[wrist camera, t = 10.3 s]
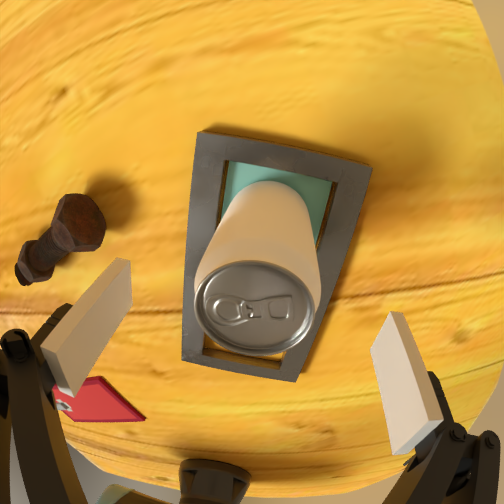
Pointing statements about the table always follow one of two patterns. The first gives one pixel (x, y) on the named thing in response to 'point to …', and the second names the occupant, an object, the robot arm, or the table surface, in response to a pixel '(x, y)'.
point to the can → (259, 273)
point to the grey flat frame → (206, 221)
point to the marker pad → (305, 186)
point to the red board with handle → (96, 403)
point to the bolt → (62, 238)
